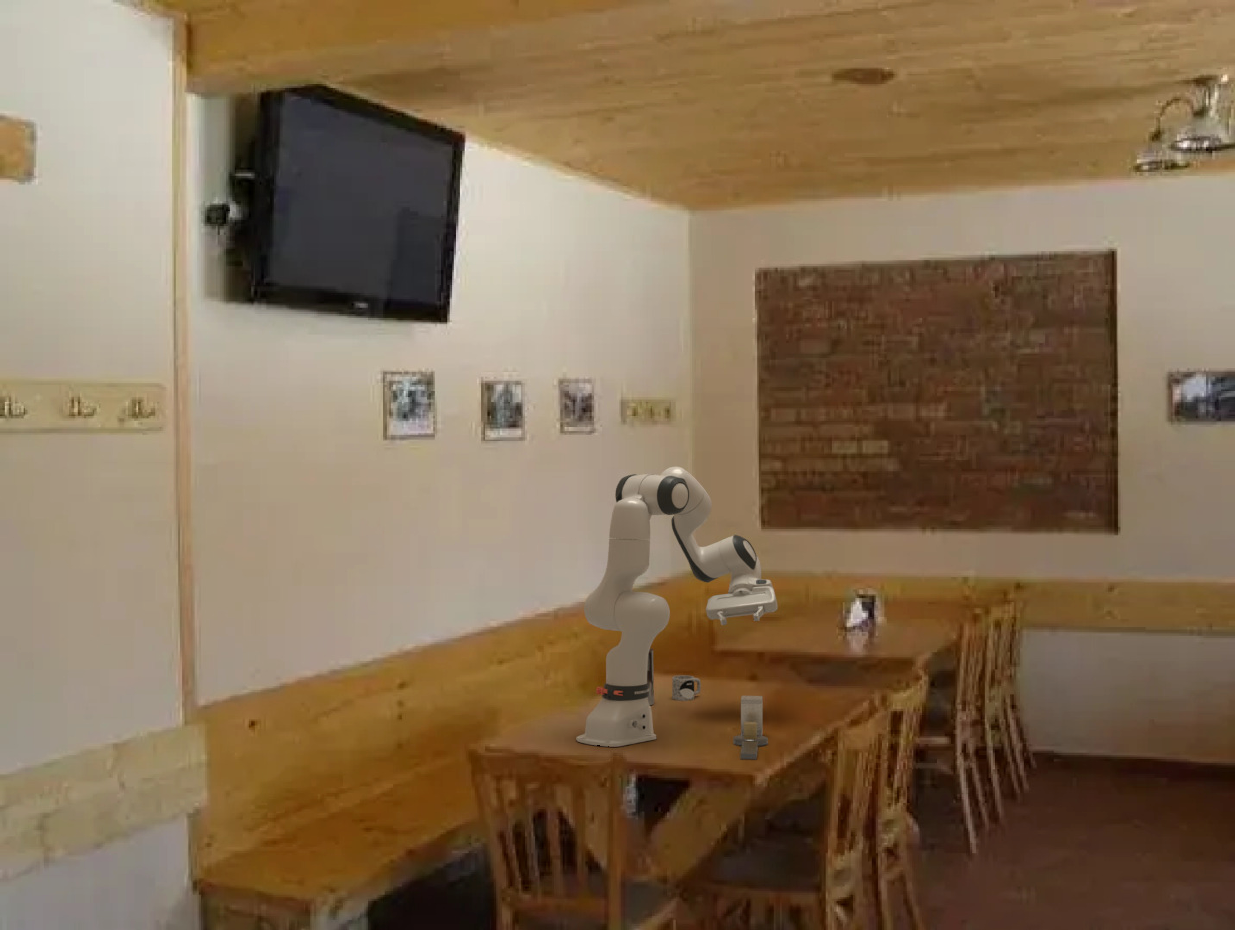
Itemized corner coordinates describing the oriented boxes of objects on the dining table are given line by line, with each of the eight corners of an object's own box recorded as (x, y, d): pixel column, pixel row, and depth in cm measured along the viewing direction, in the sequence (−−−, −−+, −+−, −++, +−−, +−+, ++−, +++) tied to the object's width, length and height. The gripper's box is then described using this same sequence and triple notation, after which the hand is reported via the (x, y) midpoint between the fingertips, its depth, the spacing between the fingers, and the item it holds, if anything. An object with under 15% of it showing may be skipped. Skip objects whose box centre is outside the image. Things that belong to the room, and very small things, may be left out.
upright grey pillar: (761, 737, 406) (762, 699, 406) (740, 737, 406) (740, 699, 406) (762, 733, 411) (762, 696, 411) (741, 733, 412) (741, 695, 412)
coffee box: (654, 701, 459) (654, 648, 458) (652, 705, 452) (652, 651, 452) (624, 701, 460) (624, 648, 459) (622, 705, 453) (622, 651, 453)
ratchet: (734, 739, 404) (734, 719, 404) (768, 740, 403) (768, 719, 403) (730, 759, 381) (730, 737, 380) (766, 760, 380) (766, 738, 379)
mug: (681, 701, 459) (681, 679, 459) (668, 698, 464) (668, 676, 464) (707, 698, 465) (707, 676, 465) (693, 694, 470) (693, 673, 470)
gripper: (706, 588, 439) (701, 616, 427) (775, 579, 433) (772, 607, 421) (711, 605, 441) (706, 634, 430) (780, 597, 436) (777, 625, 424)
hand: (739, 621), depth 426 cm, fingers open, 8 cm apart
